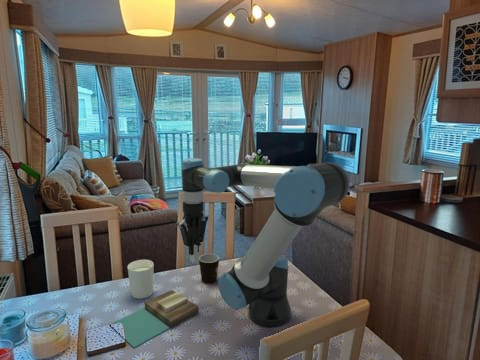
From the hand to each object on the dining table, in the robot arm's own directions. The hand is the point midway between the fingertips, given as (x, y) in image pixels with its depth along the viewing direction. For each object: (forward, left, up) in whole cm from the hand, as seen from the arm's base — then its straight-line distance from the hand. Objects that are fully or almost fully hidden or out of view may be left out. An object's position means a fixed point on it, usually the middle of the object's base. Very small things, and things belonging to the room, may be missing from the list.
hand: (194, 261), depth 127 cm
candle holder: (+18, +12, -16) cm, 26 cm away
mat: (0, +24, -15) cm, 28 cm away
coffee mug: (+7, -15, -16) cm, 23 cm away
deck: (0, +11, -15) cm, 19 cm away
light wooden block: (0, +11, -13) cm, 17 cm away
